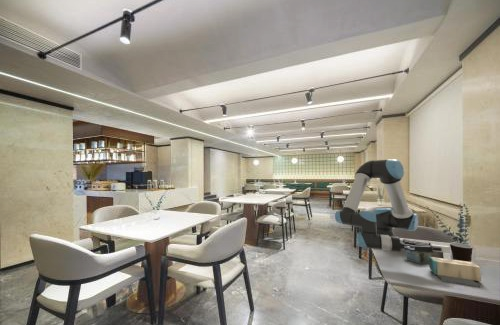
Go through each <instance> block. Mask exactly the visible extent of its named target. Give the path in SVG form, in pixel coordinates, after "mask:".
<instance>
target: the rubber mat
mask: <svg viewBox="0 0 500 325" xmlns="http://www.w3.org/2000/svg"><path fill="white" fill-rule="evenodd" d="M429 268H430V265H429ZM437 276H438V278H439V279H441V281H443V282H447V283H452V284H454V283H455V284H458V285H466V286H470V287H471V286H473V287H478V288H479V287H480V285H479V284H478V283H477V282H475V280H469V279H463V278H456V277H449V276H443V275H437Z"/></svg>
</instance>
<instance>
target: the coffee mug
mask: <svg viewBox="0 0 500 325" xmlns="http://www.w3.org/2000/svg"><path fill="white" fill-rule="evenodd" d="M449 247H450V253H451V255H452V256H451V258H452V260H459V261H467V262H472V256H473V249H474V248H473V246H472V245H469V244H465V243H460V242H449Z"/></svg>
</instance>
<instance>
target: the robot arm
mask: <svg viewBox="0 0 500 325" xmlns="http://www.w3.org/2000/svg"><path fill="white" fill-rule="evenodd" d="M404 175H405V171H404V165H403V164H402V162H401V161H400V160H398V159H392V158H390V159H389V158H388V159H378V160H377V159H376V160H373V159H372V160H368V161H366V162H364V163H363V164H361V166H359V168H358V169H357V170H356V172H355V174H354V175H353V176H354V181H353V183H352V185H351V187H350V190H349V193H348V195H347V197H346V199H345V202H344V204H343V207H342V210H337V211H336V212H335V213H334V220H335V221H336V223H337V224H340V225H347V226H352V227H355V228H360V232H359V231H358V232H356V242H357V246H359V248H360V247H362V248H364V249H365V248H366V249H373V250H375V249H376V250H382V251H383V252H385V251H392V252H401V250H402V249H404V250H405V251H406V250H410V251H411V252H413V251H418V252H431V253H433V251H437V252H443V253H447V254H450V253H451V247H450V245H442V244H441V245H439V244H431V242H423V241H416V240H410V239H405V238H403V239H401V238H400V237H399V236H396V235H395V233H394V231H393V229H397V230H403V231H410V232H415V231H417V229H418V225H419V214H417V213H414V212H413V209H411V208H410V207H409V205H408V202H407V199H406V196H405V193H404V189H403V187H402V183H401V181H402V178H404ZM372 179H379V180H380V183H382V184H383V185H384V187H385V190H386V193H387V196H388V198H389V202H390V204H391V207H392V208H390V207H382V208H375V209H373V211H371V210H361V211H360V212H359V213H358V212H357V211H358V209H359V207H360V206H359V205H360V202H361V200H362V197H363V195H364V193H365V190H366V189H367V188H366V187H367V184H368V183H370V182H371V180H372Z"/></svg>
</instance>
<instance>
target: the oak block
mask: <svg viewBox="0 0 500 325" xmlns="http://www.w3.org/2000/svg"><path fill="white" fill-rule="evenodd" d="M429 266H430V267H429V270H430V271H431V272H432V273H433V274H434V275H435V276H438V275H443V276H449V277H456V278H463V279H469V280H473V281H477V282H482V274H481V273H482V271H481V267H480V266H479V265H477V264H476V263H475V262H473V261H471V262H467V261H459V260H453V259H450V258H444V259H443V258H435V257H430V263H429Z"/></svg>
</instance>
